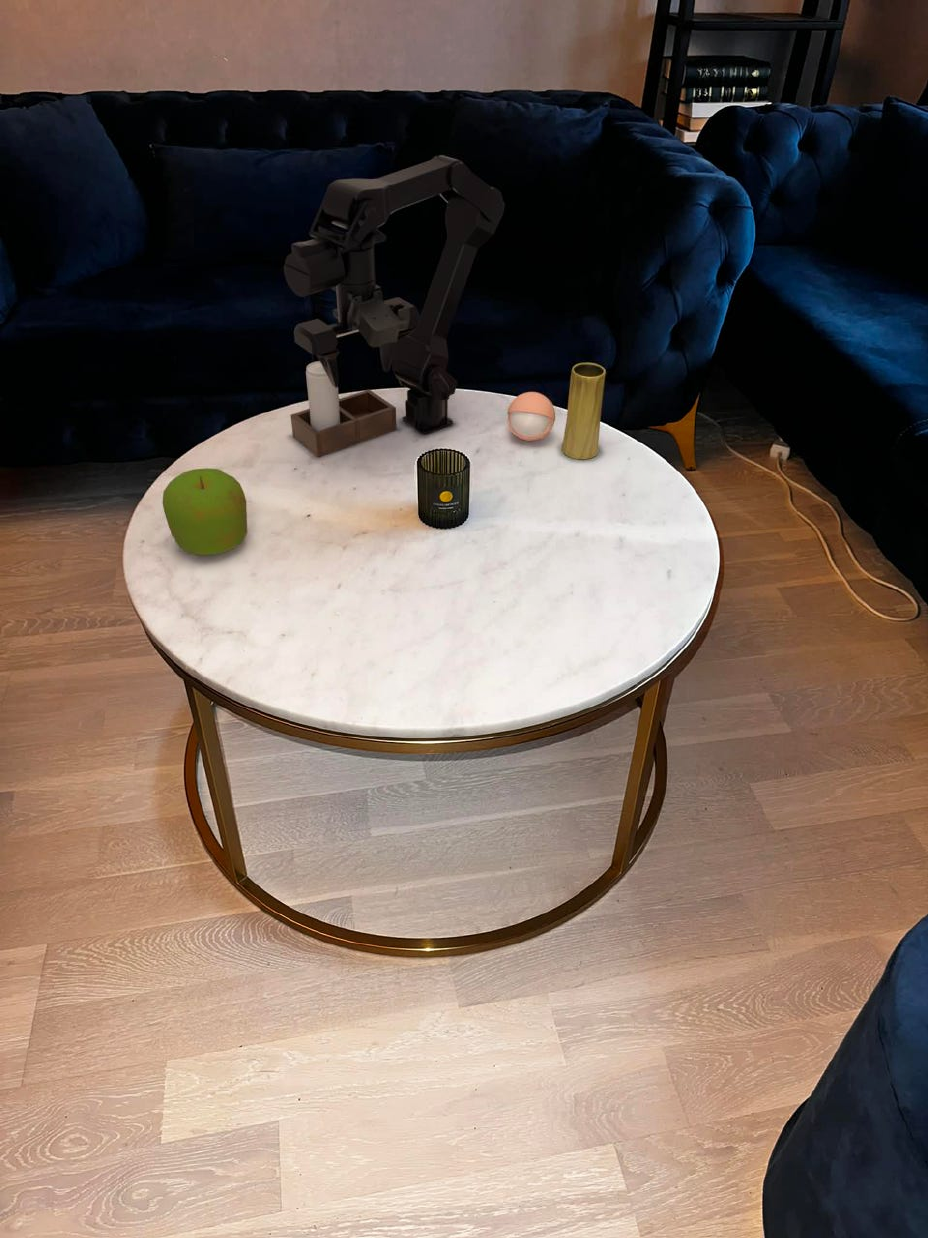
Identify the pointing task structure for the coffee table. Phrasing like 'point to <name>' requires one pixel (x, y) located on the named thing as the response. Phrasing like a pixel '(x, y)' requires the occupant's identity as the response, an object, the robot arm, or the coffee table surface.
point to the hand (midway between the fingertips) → (361, 378)
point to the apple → (206, 511)
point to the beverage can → (322, 398)
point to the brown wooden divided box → (346, 424)
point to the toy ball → (531, 416)
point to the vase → (584, 411)
